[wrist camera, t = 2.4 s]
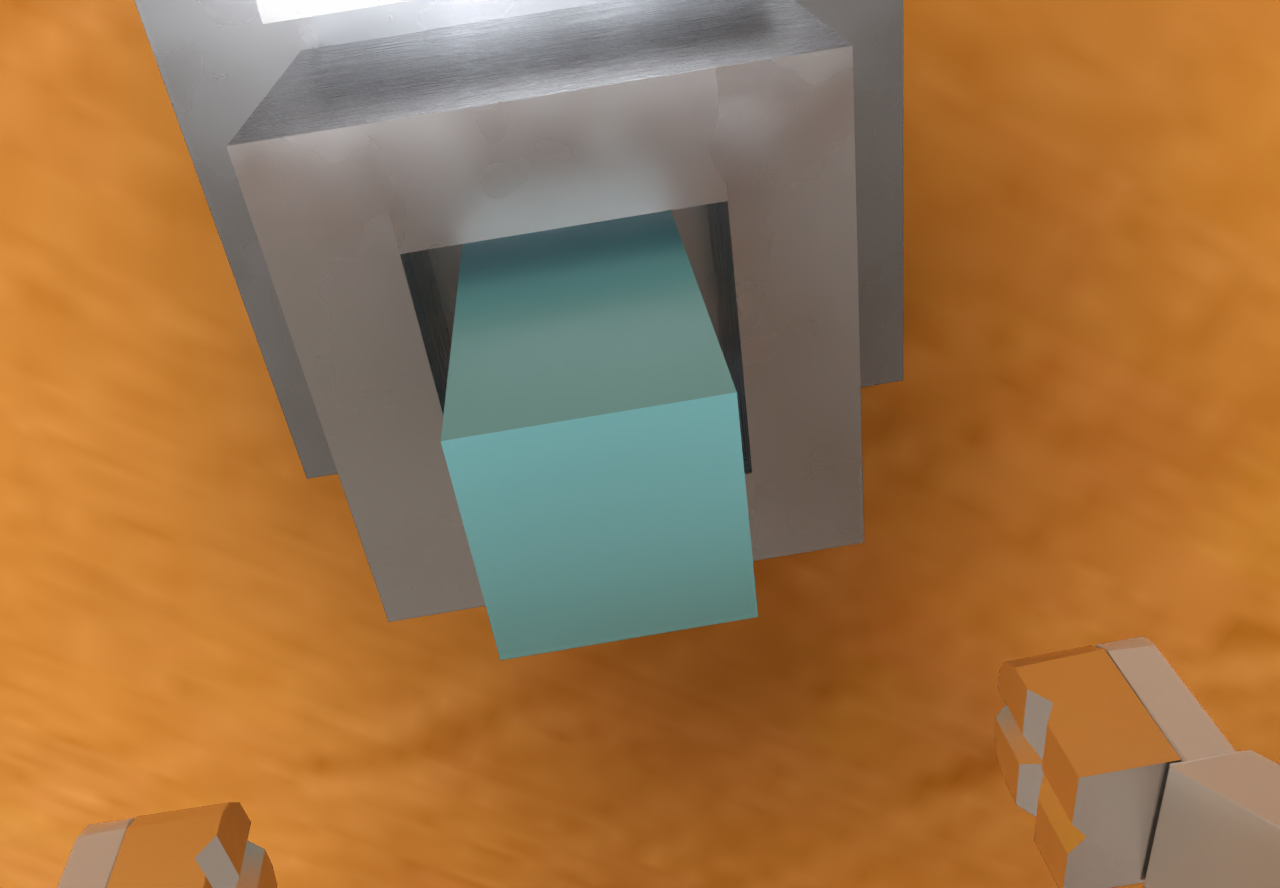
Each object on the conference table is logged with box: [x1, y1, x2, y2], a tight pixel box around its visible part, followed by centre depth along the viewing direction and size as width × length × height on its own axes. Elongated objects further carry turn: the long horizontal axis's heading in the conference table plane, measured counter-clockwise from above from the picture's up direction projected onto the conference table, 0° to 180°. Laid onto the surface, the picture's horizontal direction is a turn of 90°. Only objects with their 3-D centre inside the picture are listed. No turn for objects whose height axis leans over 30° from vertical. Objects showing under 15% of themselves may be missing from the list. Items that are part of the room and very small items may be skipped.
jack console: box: [134, 0, 903, 622], centre depth 20 cm, size 22×16×8 cm
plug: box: [441, 210, 758, 660], centre depth 19 cm, size 4×4×8 cm
